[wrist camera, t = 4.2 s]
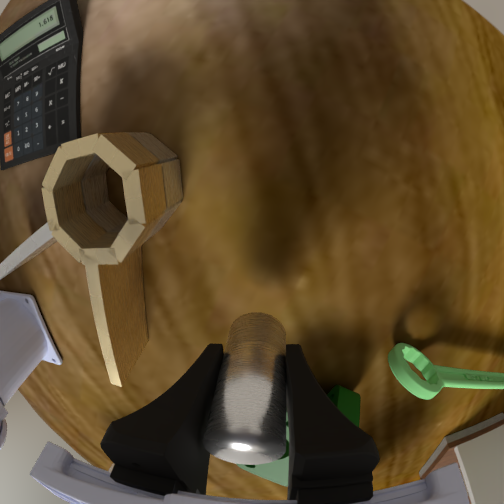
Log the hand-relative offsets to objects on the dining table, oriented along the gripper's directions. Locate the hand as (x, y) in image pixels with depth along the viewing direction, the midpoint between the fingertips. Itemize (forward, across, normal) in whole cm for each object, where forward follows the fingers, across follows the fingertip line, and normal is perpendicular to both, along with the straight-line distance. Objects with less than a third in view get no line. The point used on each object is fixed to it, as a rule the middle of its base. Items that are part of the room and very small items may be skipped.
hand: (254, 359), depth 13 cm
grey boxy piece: (+5, -28, +27) cm, 39 cm away
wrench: (+5, -20, +8) cm, 22 cm away
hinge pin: (+2, 0, 0) cm, 2 cm away
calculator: (+6, +15, -17) cm, 23 cm away
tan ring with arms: (+5, +11, -4) cm, 13 cm away
